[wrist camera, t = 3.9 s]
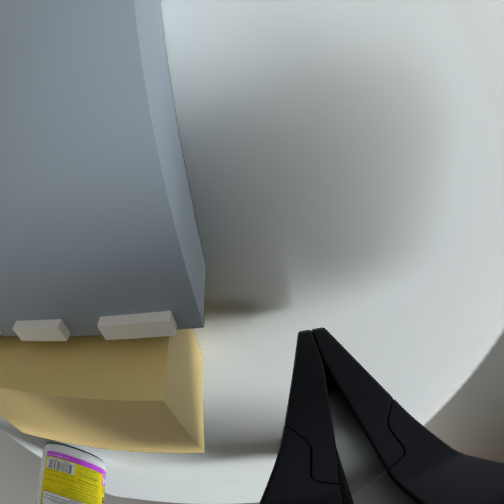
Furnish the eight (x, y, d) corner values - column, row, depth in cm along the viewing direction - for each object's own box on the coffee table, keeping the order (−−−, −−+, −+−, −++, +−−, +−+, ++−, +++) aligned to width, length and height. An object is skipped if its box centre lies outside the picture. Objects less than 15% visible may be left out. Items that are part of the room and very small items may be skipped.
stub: (176, 281, 9) (163, 400, 6) (203, 357, 11) (204, 452, 8) (-1, 300, 9) (-41, 377, 5) (44, 361, 11) (23, 432, 8)
